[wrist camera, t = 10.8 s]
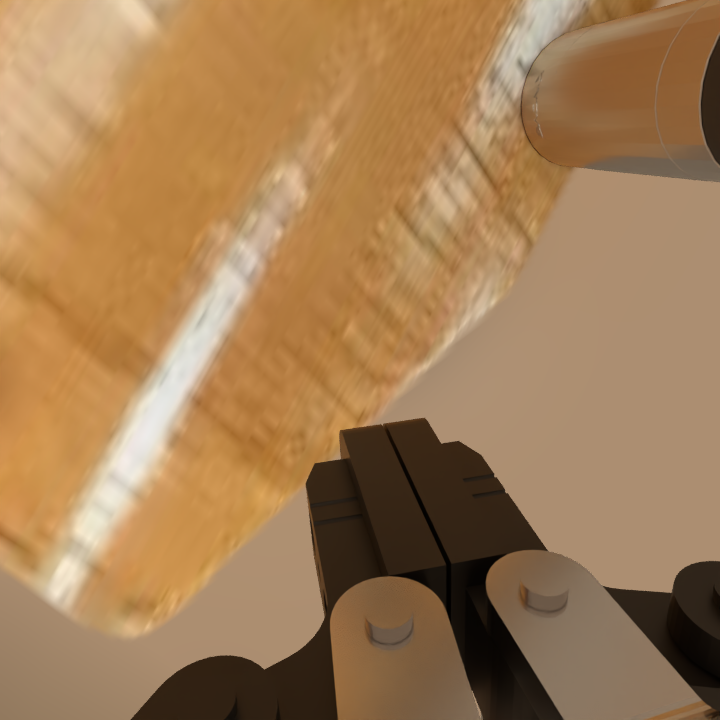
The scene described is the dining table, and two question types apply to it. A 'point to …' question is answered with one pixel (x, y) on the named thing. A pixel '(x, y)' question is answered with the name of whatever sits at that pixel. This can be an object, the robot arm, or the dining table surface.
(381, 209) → the dining table surface
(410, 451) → the robot arm
